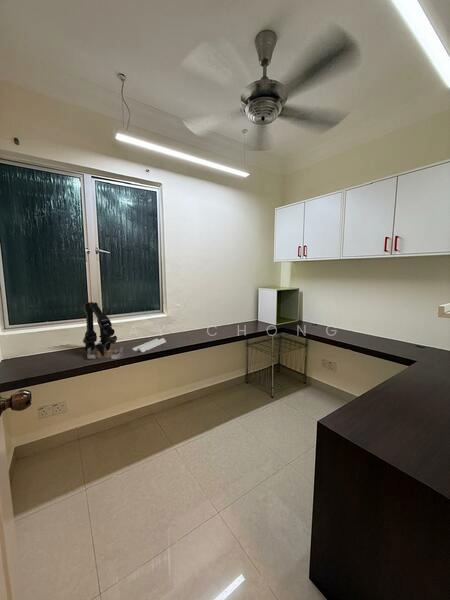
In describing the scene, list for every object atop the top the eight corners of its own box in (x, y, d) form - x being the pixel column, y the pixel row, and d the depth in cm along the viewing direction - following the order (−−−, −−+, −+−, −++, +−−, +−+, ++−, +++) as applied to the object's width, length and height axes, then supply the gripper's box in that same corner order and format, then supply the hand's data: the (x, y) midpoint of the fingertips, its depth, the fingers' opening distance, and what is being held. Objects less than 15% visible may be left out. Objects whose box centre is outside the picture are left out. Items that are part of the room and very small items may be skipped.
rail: (92, 358, 187) (92, 351, 186) (95, 356, 191) (94, 349, 190) (116, 357, 187) (116, 351, 187) (118, 356, 191) (118, 349, 191)
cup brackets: (86, 358, 184) (85, 349, 184) (91, 354, 193) (91, 346, 192) (120, 358, 185) (119, 349, 184) (124, 354, 194) (123, 346, 193)
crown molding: (156, 340, 232) (156, 337, 232) (166, 342, 228) (166, 338, 227) (131, 350, 204) (131, 346, 204) (142, 353, 199) (142, 348, 199)
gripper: (109, 337, 178) (111, 358, 180) (119, 330, 196) (120, 349, 198) (94, 337, 177) (95, 358, 179) (105, 330, 196) (106, 349, 198)
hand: (105, 353), depth 189 cm, fingers open, 9 cm apart
